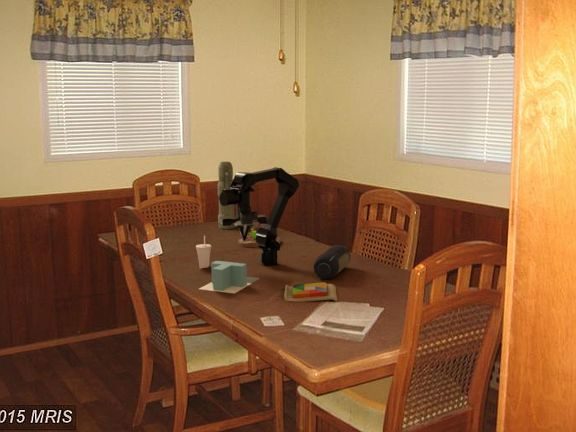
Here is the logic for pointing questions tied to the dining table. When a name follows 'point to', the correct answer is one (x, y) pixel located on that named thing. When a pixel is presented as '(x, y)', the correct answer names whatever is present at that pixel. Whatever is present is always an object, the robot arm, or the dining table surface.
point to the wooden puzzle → (310, 292)
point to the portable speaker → (332, 262)
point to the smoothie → (203, 254)
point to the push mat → (232, 288)
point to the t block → (228, 275)
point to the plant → (252, 239)
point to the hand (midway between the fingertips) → (244, 240)
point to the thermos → (224, 182)
